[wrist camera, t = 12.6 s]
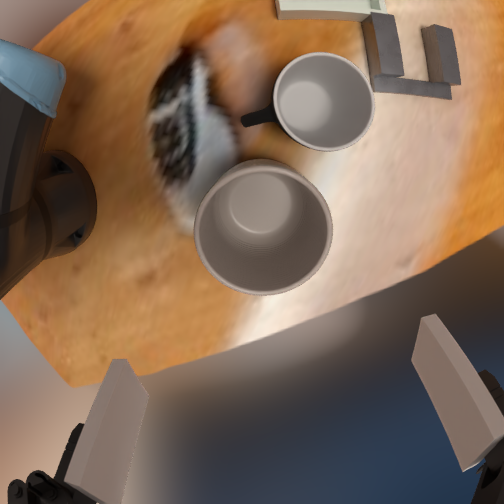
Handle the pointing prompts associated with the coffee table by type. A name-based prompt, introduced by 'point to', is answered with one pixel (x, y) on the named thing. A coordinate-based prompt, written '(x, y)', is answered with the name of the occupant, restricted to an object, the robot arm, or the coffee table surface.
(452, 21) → the coffee table surface
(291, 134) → the mug
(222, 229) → the planter
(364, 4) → the tray
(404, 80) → the hitch clevis
